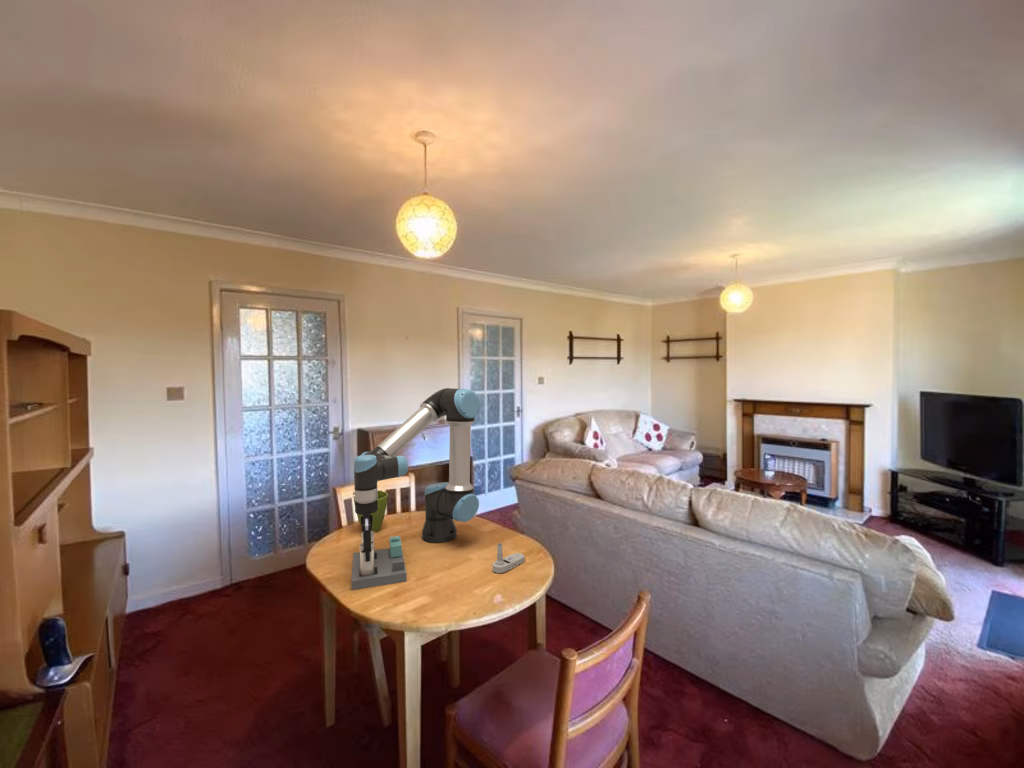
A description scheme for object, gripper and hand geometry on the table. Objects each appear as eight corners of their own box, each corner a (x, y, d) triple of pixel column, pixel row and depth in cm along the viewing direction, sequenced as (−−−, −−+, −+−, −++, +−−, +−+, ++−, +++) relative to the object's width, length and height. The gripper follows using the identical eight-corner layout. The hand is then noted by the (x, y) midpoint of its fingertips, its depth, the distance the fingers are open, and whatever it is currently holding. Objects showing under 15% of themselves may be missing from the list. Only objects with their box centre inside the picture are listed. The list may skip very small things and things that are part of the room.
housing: (401, 553, 178) (401, 538, 177) (406, 581, 155) (406, 564, 155) (353, 560, 172) (353, 545, 172) (351, 590, 149) (350, 572, 149)
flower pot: (387, 534, 198) (386, 499, 197) (352, 538, 195) (351, 501, 194) (389, 523, 213) (388, 489, 212) (356, 526, 209) (355, 492, 209)
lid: (400, 545, 177) (399, 533, 177) (402, 555, 168) (401, 543, 168) (389, 547, 176) (389, 535, 176) (390, 557, 167) (390, 544, 166)
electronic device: (527, 536, 169) (500, 548, 158) (527, 562, 169) (500, 575, 158) (516, 533, 173) (489, 544, 161) (516, 558, 173) (489, 571, 162)
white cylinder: (375, 560, 172) (374, 530, 171) (375, 566, 167) (374, 534, 166) (362, 562, 170) (361, 531, 170) (361, 568, 166) (360, 536, 165)
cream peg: (373, 574, 159) (373, 541, 159) (375, 580, 155) (374, 546, 154) (359, 576, 157) (358, 543, 157) (360, 582, 153) (359, 548, 152)
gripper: (355, 494, 162) (357, 558, 163) (354, 509, 146) (355, 579, 147) (377, 492, 164) (378, 555, 165) (378, 506, 148) (379, 576, 149)
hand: (367, 566), depth 156 cm, fingers closed on cream peg, 4 cm apart
